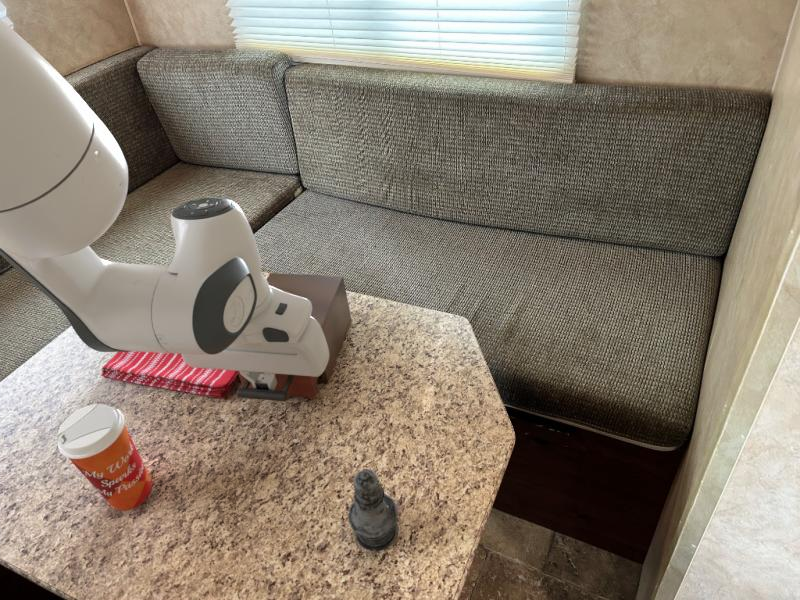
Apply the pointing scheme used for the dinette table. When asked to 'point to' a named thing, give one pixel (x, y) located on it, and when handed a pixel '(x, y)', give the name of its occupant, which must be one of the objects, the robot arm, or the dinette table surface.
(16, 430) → the dinette table surface
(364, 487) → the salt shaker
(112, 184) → the robot arm
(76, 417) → the paper cup
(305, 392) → the drawer
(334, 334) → the cabinet
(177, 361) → the dish towel
